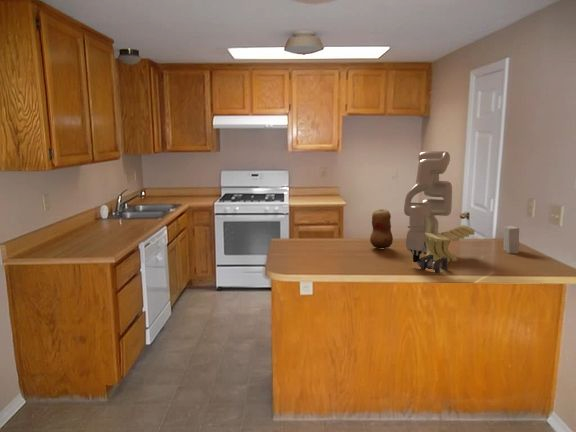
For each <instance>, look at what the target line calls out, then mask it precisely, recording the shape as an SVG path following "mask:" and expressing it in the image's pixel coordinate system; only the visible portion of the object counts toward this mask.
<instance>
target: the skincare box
mask: <svg viewBox="0 0 576 432" xmlns="http://www.w3.org/2000/svg"><path fill="white" fill-rule="evenodd" d="M503 251H504V252H506V253H508V254H519V253H520V228H519V227H517V226H514V225H506V226H505V225H504V226H503Z"/></svg>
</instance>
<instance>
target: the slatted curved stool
mask: <svg viewBox="0 0 576 432" xmlns="http://www.w3.org/2000/svg"><path fill="white" fill-rule="evenodd" d="M425 234H426V246H427V253H426V256H427V255H430V254H431V255H433V261H434V262H435V261H436V260H438V259H439V257H441V258H443V257H447V262H458V258H456V257H455V256H454V255H453V254H452V253H451V252H450V251H449V245H450V243H451V242H454V241H455V242H457V241H460V239H461V240H462V239H463V240H464V239H465V237H466V238H467V237H470V236H475V229H474V228H472V227H470V226H468V225H465V224H460V225H459V226H457V227H455V228H453V229H450V230H447V231H443V232H441V233H440V232H438V233H433V234H432V233H425Z"/></svg>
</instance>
